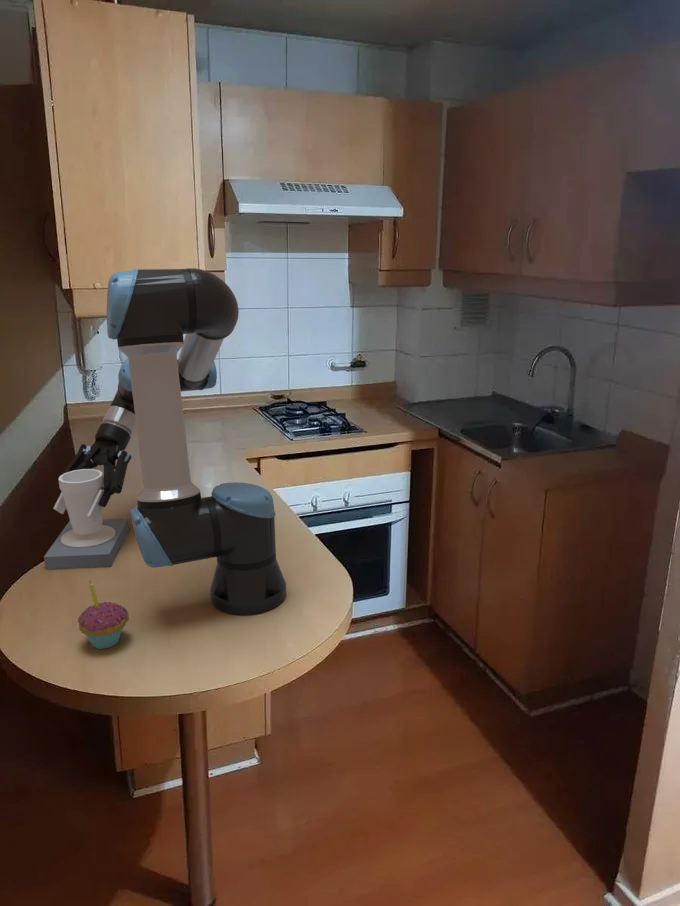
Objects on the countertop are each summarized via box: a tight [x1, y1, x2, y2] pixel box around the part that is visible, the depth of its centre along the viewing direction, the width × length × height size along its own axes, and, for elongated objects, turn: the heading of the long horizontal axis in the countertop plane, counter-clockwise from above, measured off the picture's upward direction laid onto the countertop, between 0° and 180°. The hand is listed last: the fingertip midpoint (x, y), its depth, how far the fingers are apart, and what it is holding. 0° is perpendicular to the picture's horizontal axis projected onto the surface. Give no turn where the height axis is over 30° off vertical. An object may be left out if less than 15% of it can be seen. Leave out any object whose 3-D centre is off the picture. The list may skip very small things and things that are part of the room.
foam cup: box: [58, 468, 104, 534], centre depth 161 cm, size 10×9×13 cm
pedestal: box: [43, 517, 130, 570], centre depth 164 cm, size 20×14×3 cm
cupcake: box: [77, 579, 130, 650], centre depth 126 cm, size 9×8×12 cm
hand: (74, 514), depth 159 cm, fingers closed on foam cup, 9 cm apart
